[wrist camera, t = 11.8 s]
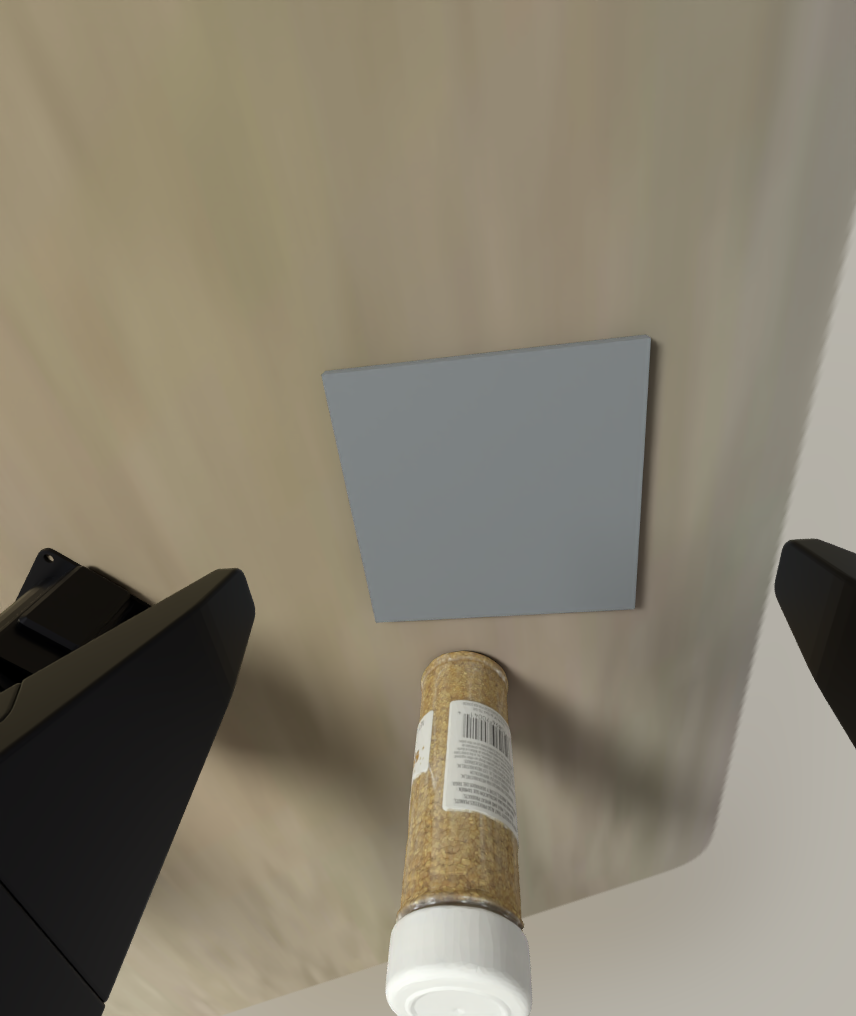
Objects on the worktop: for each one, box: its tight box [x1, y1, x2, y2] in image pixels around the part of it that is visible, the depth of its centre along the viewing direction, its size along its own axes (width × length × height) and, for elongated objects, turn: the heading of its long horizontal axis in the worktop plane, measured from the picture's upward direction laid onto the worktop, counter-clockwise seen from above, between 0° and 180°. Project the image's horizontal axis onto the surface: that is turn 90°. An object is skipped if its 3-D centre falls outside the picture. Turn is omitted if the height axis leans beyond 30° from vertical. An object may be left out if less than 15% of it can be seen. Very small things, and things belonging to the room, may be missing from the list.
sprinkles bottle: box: [386, 651, 532, 1016], centre depth 22 cm, size 5×5×14 cm
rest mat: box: [322, 335, 651, 623], centre depth 23 cm, size 12×12×1 cm
